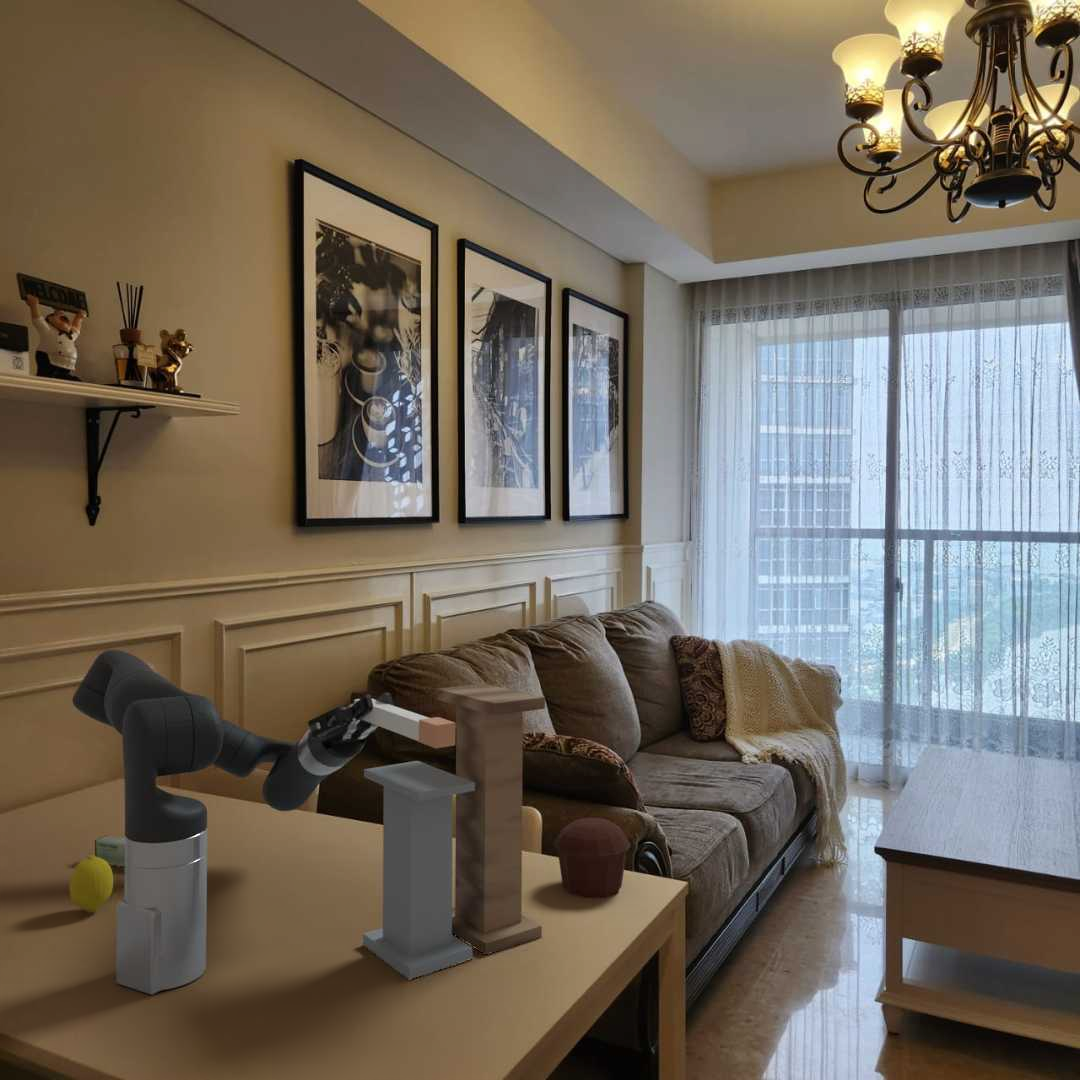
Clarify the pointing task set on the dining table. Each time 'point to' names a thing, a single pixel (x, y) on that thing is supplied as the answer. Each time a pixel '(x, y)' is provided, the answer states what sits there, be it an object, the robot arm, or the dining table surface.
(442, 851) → the grey pedestal column
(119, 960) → the robot arm
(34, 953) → the dining table surface
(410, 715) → the white square bar
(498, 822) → the tall tower
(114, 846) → the medication box
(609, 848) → the muffin
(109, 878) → the lemon
